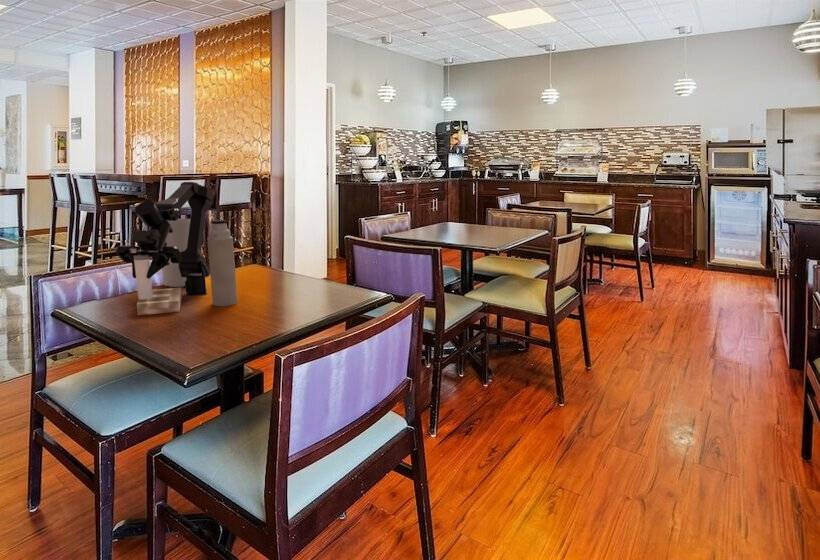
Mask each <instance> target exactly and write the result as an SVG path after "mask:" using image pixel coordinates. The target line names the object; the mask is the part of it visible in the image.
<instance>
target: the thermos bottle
mask: <svg viewBox="0 0 820 560" xmlns="http://www.w3.org/2000/svg"><path fill="white" fill-rule="evenodd" d="M210 223H211V225H210V226H211V229H210V230H209V231H208V236H209V237H207V239H206V240H207V249H208V250H207V251H208V262H209V265H208V266H209V269H210V275H209V276H210V286H211V301H212V305H213V306H216V307H228V306H233V305H235V304H237V303H238V292H237V278H236V277H237V276H236V264H235V248H234V237H233V236H232V235H231V230H230V229H229V228H228V225H227V223H228V221H227V220H225V219H215V220H211V221H210Z"/></svg>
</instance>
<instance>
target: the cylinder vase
mask: <svg viewBox="0 0 820 560" xmlns="http://www.w3.org/2000/svg"><path fill="white" fill-rule="evenodd" d="M190 219H191V218H178V219H177V220H176V221H168V222H169V224H170V225H171V228H172V229H173V233H168V236H167V238H166V241H165V242H166V243H167V246H176V247H177V248H178V250H179V251H180V253H181V251H185V250H186V248H187V243H188V235H189V227H190ZM162 251H163V250H162ZM170 259H171V257H170ZM170 259H169V265H166V266H165V267H163V268H162V269H161V272H162V281H163V286H165V287H167V286H169V287H168V288H185V287H184V286H185V280H187V279H186V277H181V274H180V270H179V266H178V265H179V263H172V262H171V261H170Z"/></svg>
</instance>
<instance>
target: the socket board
mask: <svg viewBox="0 0 820 560" xmlns="http://www.w3.org/2000/svg"><path fill="white" fill-rule="evenodd" d="M152 292H153V298H151V299H145V300H141V299H138V298H137V299H138V301H137V303H136V311H137V316H142V315H144V316H145V315H153V314H154V315H155V314H164V313H165V314H167V313H178V312H180V311H181V305H182V299H183V298H182V297H183V296H182V287H168V288H158V289H152Z"/></svg>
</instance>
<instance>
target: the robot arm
mask: <svg viewBox="0 0 820 560" xmlns="http://www.w3.org/2000/svg"><path fill="white" fill-rule="evenodd" d="M214 198H215V197H214V192H213V191H212V190H211V189H210V188H209V187H207V186H204V185H201V184H199V183H197V182H195V181H183V182H181V183H180V186H179V187H178V188H176V190H175V191H174V192H173V193H171V194H170V195H169V196H168V198H166V199H161V200H158V201H157V202H155V201H154V200H153V198H145V200H144V201H142V202H140V203H138V204H137V205H136V206H135V208H134V211H135V214H136V216H137V217H138V218H139V219H140V220H141V222H142V223H143V224H144V226H146V227H148V229H147V230H141V229H140V230H138V229H137V230H135V229H133V230H132V236H131V242H135V243H136V247H137V248H139V249H137V248H133V246H132V245H119V246H117V248H116V250H115V254H116V255H117V256H118V257H119V258H120V259H121V261H122V262H124V263H126V264H128V263H129V264H131V272H132V277H133V279H136V273H135V264H134V256H135V255H149V259H151V263H150V267H149V270H148V273H147V278H148V279H149V278H151V279H152V277H153V276H154V275H156V273H158V272H159V271H161V270H162V268H163V267H165V266H166V265H169V259H170V257H171V259H170V261H171V262H172V263H179V265H178V266H179V270H180V274H181V277H186V279H187V280H185V287H184V288H185V293H187V294H186V295H187V296H193V295H194V296H195V295H206V294H207V293H208V290H207V285H206V283H207V281H206V278H209V276H210V267H209V265H208V264H207V263H206V258H205V255H204V253H203V252H202V247H203V238H204V230H205V221H206V213H207V212H208V211H209V210H210V209H211V207H212V204H213V200H214ZM186 203H188V206H189V207H190V209H191V211H190V212H191V213H190V218H189V219H190V227H189V235H188V243H187V248H186V250H185V251H181V253H180V251H179V250H178V248H177V247H176V246H167V243H166V242H165V241H166V238H167V236H168V233H173V229H172V228H171V225H170V224H169V222H168V221H176V220H177V219H180V218H179V217H180V216H181V214H182V212H181V209H182V208H183V206H185V204H186ZM162 250H163V251H162Z"/></svg>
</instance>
